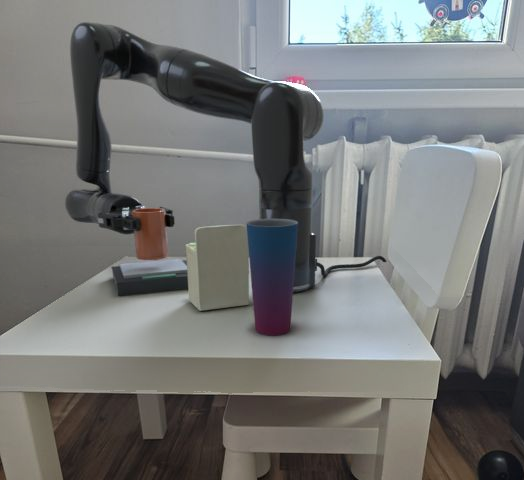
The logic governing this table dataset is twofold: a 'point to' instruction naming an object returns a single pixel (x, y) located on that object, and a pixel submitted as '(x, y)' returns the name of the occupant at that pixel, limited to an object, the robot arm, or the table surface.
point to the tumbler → (151, 234)
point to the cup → (272, 272)
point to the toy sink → (218, 267)
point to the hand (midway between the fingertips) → (155, 223)
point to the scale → (150, 276)
